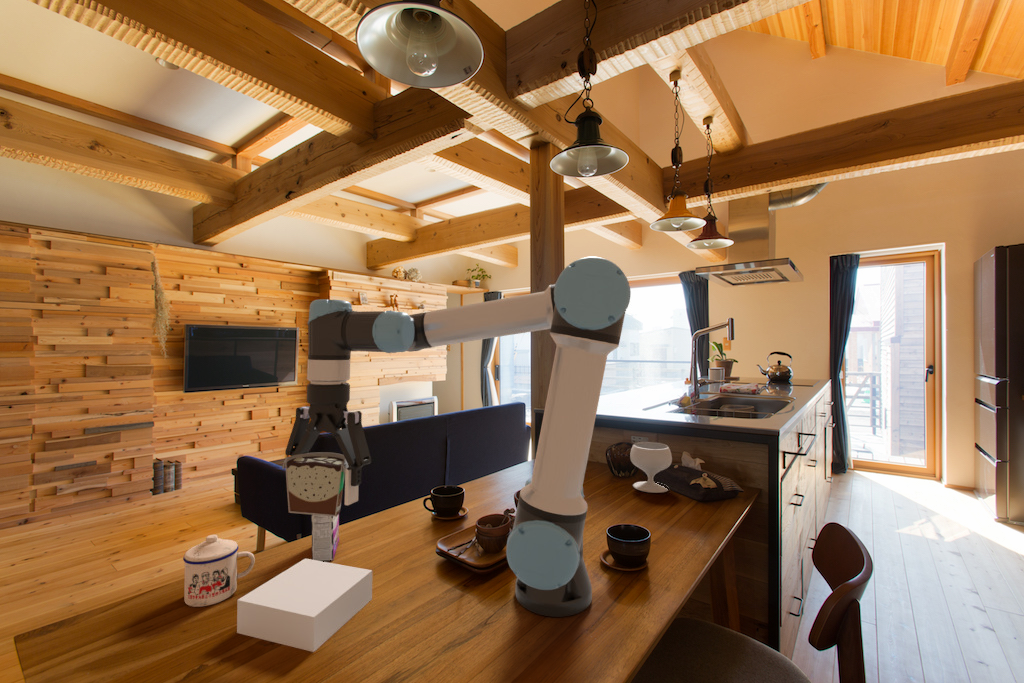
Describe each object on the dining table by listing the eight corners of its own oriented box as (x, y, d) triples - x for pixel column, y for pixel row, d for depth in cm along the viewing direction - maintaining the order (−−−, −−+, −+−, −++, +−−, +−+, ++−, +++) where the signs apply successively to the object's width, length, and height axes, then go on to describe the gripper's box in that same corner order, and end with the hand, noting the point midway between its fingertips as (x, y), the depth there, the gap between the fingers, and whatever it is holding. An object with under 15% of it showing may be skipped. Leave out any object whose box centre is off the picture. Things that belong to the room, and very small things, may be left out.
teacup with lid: (179, 613, 83) (180, 550, 84) (186, 590, 91) (186, 532, 91) (254, 596, 89) (255, 537, 89) (254, 575, 97) (255, 521, 97)
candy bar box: (318, 542, 114) (318, 477, 114) (339, 540, 115) (340, 475, 115) (310, 563, 103) (310, 491, 103) (333, 561, 104) (334, 489, 104)
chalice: (680, 492, 154) (680, 448, 154) (644, 496, 150) (644, 451, 150) (656, 480, 167) (656, 440, 167) (622, 483, 163) (622, 442, 163)
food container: (360, 505, 88) (361, 453, 88) (343, 517, 82) (345, 461, 82) (301, 500, 90) (302, 449, 90) (281, 511, 84) (282, 457, 84)
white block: (372, 601, 89) (372, 570, 89) (313, 654, 73) (314, 617, 73) (304, 587, 93) (305, 558, 93) (237, 634, 78) (237, 599, 78)
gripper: (393, 384, 85) (390, 501, 84) (298, 377, 94) (295, 483, 93) (365, 387, 78) (362, 515, 77) (266, 380, 87) (263, 494, 86)
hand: (326, 497), depth 85 cm, fingers closed on food container, 11 cm apart
